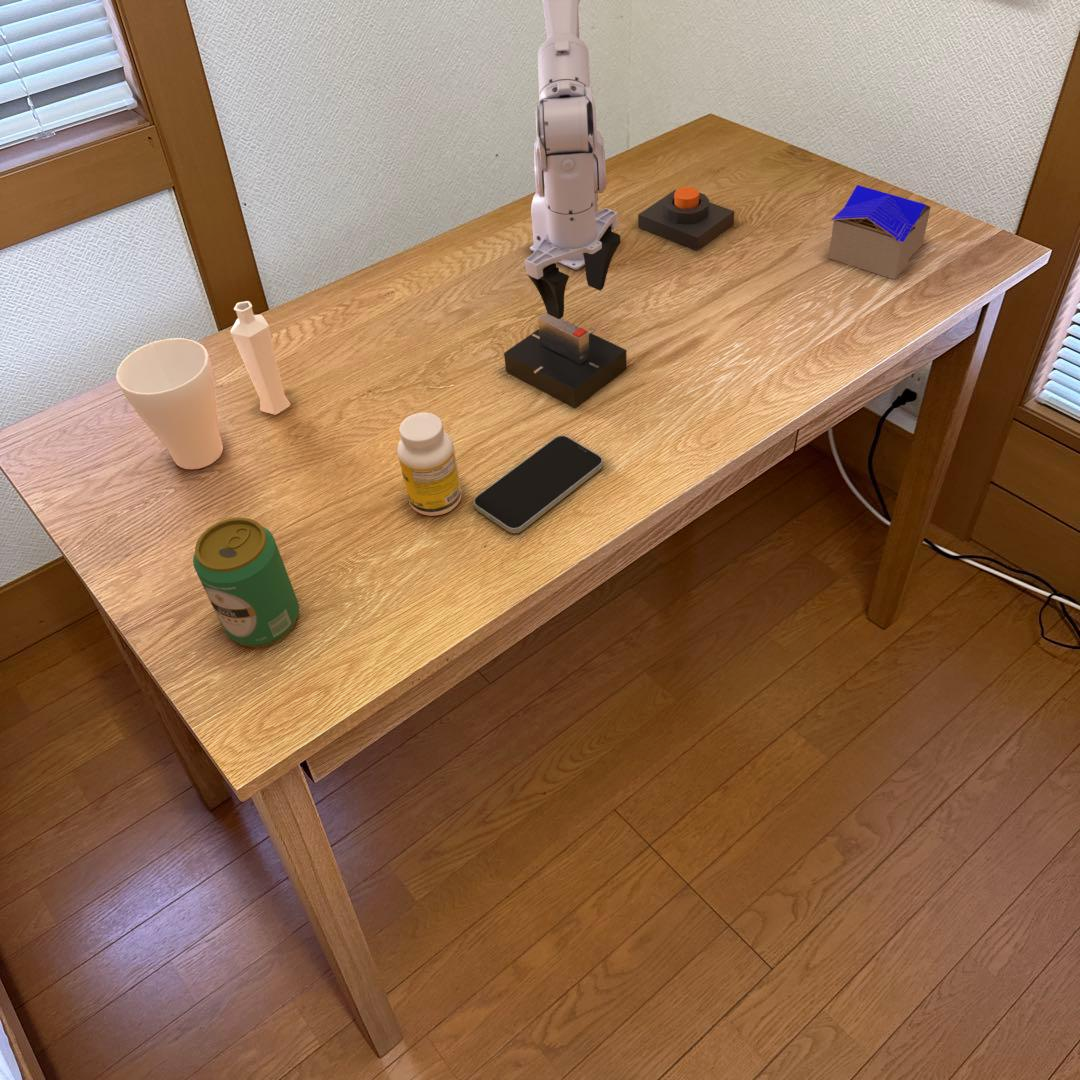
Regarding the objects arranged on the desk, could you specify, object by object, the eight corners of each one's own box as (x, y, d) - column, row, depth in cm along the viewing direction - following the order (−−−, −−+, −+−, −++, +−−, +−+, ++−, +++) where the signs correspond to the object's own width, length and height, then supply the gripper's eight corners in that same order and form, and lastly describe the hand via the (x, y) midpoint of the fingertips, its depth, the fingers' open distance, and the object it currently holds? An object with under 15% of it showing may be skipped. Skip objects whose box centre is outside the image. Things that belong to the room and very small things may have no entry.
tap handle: (540, 344, 134) (537, 316, 131) (549, 337, 135) (547, 309, 132) (580, 365, 130) (579, 337, 127) (590, 358, 131) (588, 330, 128)
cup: (167, 494, 124) (126, 406, 114) (147, 444, 131) (107, 356, 121) (251, 462, 127) (219, 373, 117) (228, 415, 133) (195, 327, 124)
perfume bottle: (300, 397, 135) (270, 298, 124) (281, 418, 132) (248, 319, 121) (271, 390, 136) (239, 291, 125) (251, 410, 134) (217, 311, 123)
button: (669, 205, 154) (669, 194, 153) (684, 195, 156) (684, 184, 154) (688, 212, 152) (689, 201, 151) (703, 202, 154) (704, 191, 153)
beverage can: (210, 640, 108) (172, 563, 99) (251, 584, 113) (218, 506, 104) (276, 659, 106) (243, 582, 97) (315, 601, 111) (286, 522, 102)
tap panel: (502, 374, 135) (500, 354, 133) (560, 332, 140) (559, 313, 138) (572, 410, 129) (570, 390, 127) (629, 366, 134) (629, 346, 132)
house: (895, 281, 143) (906, 229, 137) (825, 258, 148) (832, 207, 142) (929, 246, 148) (940, 194, 143) (860, 225, 153) (868, 174, 148)
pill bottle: (412, 481, 123) (395, 408, 115) (464, 479, 122) (451, 406, 114) (405, 519, 118) (388, 446, 110) (460, 517, 118) (446, 444, 110)
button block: (638, 227, 157) (638, 203, 154) (675, 202, 161) (675, 178, 159) (697, 251, 152) (698, 226, 149) (733, 224, 156) (735, 199, 153)
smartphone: (469, 501, 118) (560, 432, 125) (470, 506, 119) (561, 438, 126) (514, 532, 114) (606, 459, 121) (515, 537, 115) (607, 465, 122)
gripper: (553, 240, 116) (560, 340, 126) (637, 186, 122) (637, 285, 132) (507, 220, 119) (518, 319, 129) (591, 168, 126) (595, 266, 136)
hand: (575, 301), depth 131 cm, fingers open, 7 cm apart
